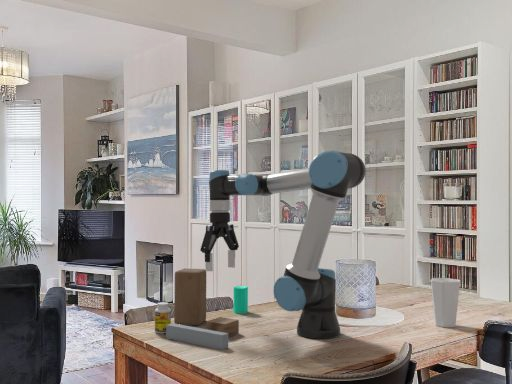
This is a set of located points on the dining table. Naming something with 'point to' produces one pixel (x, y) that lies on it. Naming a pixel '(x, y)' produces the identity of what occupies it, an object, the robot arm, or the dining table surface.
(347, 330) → the dining table surface
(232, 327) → the walnut block
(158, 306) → the supplement bottle
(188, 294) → the wooden block
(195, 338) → the board
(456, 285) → the cup
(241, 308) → the candle
